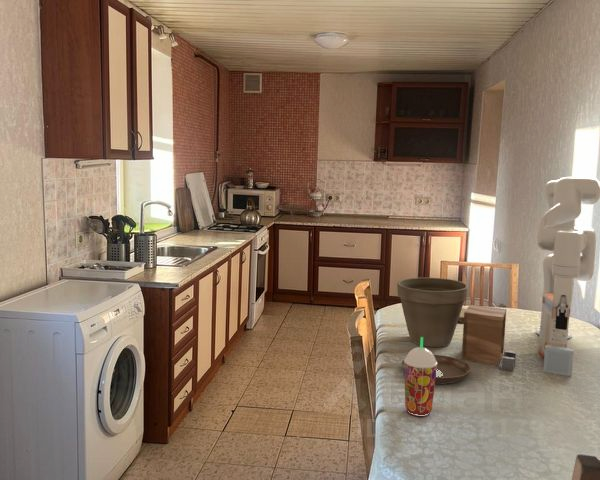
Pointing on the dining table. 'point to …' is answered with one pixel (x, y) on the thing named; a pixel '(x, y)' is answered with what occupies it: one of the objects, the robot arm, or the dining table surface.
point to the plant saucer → (449, 369)
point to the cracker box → (550, 326)
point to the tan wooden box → (483, 334)
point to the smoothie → (419, 380)
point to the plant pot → (432, 308)
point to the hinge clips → (508, 361)
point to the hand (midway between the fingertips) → (561, 325)
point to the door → (558, 360)
